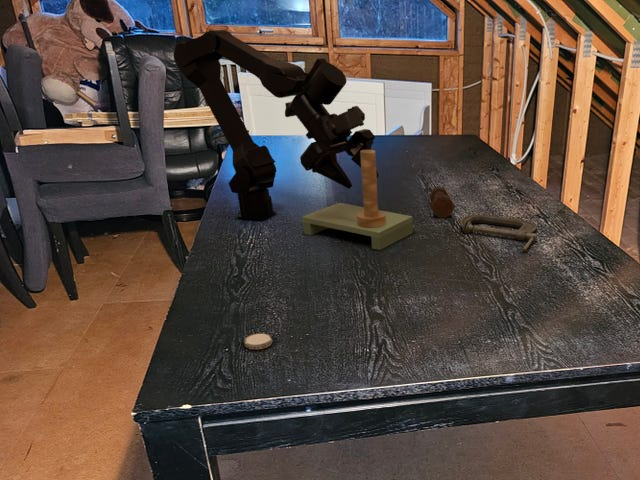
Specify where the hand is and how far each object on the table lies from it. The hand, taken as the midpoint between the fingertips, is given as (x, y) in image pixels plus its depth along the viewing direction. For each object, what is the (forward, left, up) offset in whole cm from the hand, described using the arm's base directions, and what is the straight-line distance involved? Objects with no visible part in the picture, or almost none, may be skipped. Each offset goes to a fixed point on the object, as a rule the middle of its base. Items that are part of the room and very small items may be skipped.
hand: (364, 182), depth 135 cm
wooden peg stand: (+1, 0, -9) cm, 9 cm away
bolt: (+10, +27, -13) cm, 31 cm away
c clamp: (+27, +12, -13) cm, 32 cm away
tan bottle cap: (+5, -50, -12) cm, 52 cm away
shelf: (-3, +3, -12) cm, 13 cm away
